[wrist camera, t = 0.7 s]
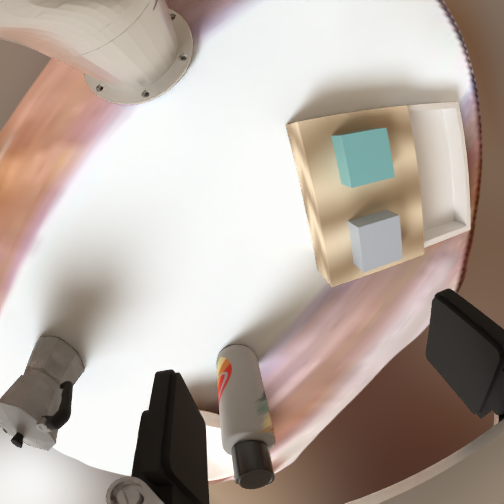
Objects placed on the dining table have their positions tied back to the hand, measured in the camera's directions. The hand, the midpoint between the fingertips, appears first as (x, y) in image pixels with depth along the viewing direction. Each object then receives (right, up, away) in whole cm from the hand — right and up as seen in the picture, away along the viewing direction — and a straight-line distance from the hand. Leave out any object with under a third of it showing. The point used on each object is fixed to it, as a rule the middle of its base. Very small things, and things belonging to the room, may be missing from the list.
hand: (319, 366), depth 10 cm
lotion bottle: (-4, -11, +32) cm, 34 cm away
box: (+21, +15, +25) cm, 36 cm away
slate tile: (+11, +6, +22) cm, 25 cm away
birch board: (+10, +12, +25) cm, 29 cm away
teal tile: (+8, +14, +19) cm, 25 cm away
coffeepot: (-31, -12, +29) cm, 44 cm away
